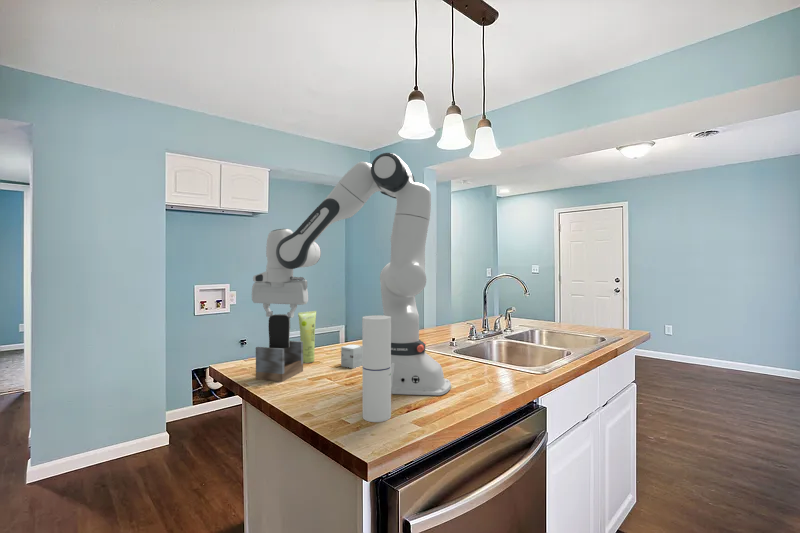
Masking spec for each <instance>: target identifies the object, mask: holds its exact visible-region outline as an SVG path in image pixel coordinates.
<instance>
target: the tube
mask: <svg viewBox="0 0 800 533" xmlns="http://www.w3.org/2000/svg"><path fill="white" fill-rule="evenodd" d="M297 317H298V325H299V335H300V337H299V338H300V340H299V341H302V342H303V364H309V363H311V364H312V363H313V362H315V342H316V340H315V338H316V322H317V321H316V319H317V318H316V317H317V310H313V311H312V310H310V311H301V312H298V313H297Z"/></svg>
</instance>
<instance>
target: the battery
mask: <svg viewBox="0 0 800 533" xmlns="http://www.w3.org/2000/svg"><path fill="white" fill-rule="evenodd" d="M287 316H288V315H287V313H279V314H278V313H277V314H276V313H275V314H273V315H271V316H270V317H269V318H268V325H267V326H268V342H269V343H268V348H289V347H290V343H289V341H290V336H291V334H290V333H291V318H288V317H287Z"/></svg>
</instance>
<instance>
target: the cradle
mask: <svg viewBox="0 0 800 533" xmlns="http://www.w3.org/2000/svg"><path fill="white" fill-rule="evenodd" d="M289 343H290V347H289V348H269V347H265V346H256V347H255V380H259V381H268V382H269V381H271V382H281V383H283V382H284V381H287V380H289V379H290V378H292V377H294V376H297V375H298V374H300V373H302V372H304V363H303V342H302V341H301V340H289Z"/></svg>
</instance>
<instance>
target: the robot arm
mask: <svg viewBox="0 0 800 533" xmlns="http://www.w3.org/2000/svg"><path fill="white" fill-rule="evenodd" d="M376 192H380V193H381V194H383V195H385V196H387V197H390V198H392V199H396V208H395V212H394V218H393V222H392V229H391V236H390V262H388V263H387V264H386V265H385V266H383V268H382V269H381V271H380V275H379V281H380V292H381V302H382V309H383V310H382V311H383V315H384V316H390V317H391V395H414V396H442V395H445V394H447V393H448V392H449V391H450V390H451V388H452V382H451V381H450V379H448V378H445V377H444V375H445V374H444V370H443V367H442V365H441V364H440V362H438V361H437V360H435V359H434V358H433V357H432V356H430V355H429V354H428V353H427V352H426V346H427V345H426V344H427V343H426V341H424V342H423V341H422V340H421V339H420V315H419V311H418V307H417V303H416V301H417V300H416V296H417V295H419V294H420V293H422V292H423V290H424V289H425V287H426V285H427V275H426V244H427V237H428V230H429V224H430V221H431V220H430V219H431V218H430V217H431V212H432V193H431V190H430V188H429V187H428V186H426V185H425V184H423V183H420V182H416V179H415V176H414V175H413V173H412V172H411V170H410V168H409V166H408V164H406V162H404V161H403V159H402V158H401V157H400V156H398V155H397V154H396V153H392V152H385V153H384V152H383V153H381V154H379V155H377V156H376V157H375V158H374V159H373V161H372V162H371V163H369V162H367V161H359V162H357V163H355V164H354V165H353V166H352V167H351V168H350V169H349V170H348V171H347V172H346V173H345V174H344V175H343V176H342V177H341V179H340V180H339V181H338V182H337V183H336V184H335V186H334V187H333V189H332V190H331V191H330V192H329V193H328V194H327V196H326V197H325V199H324V200H322V202H321V203H320V204H319V205H318V206H317V207H316V208H315V209H314V210H313V211H312V213H310V215H309V216H308V217H306V219H305V220H304V221H303V222H302V223H301V224H300V226H299V227H298V228H297V229H296V230H295V231H293V230H291V229H290V228H278V229H274V230H271V231H269V233H268V235H267V238H266V246H265V247H266V251H265V252H266V258H267V263H266V268H265V270H266V271H263V272H261V273H259V274H256V275H253V277H252V281H253V282H254V283H253V284H252V287H251V301H252V302H253V303H254V304H262V307H263V309H264V312H265V316H266V317H267V318H268V317H270V316H271V315H274V314H273V313H274V312H273V311H272V310H271V308H270V307H271V305H272V304H273V305H275V304H276V305H289V307H290V310H289V312H287V313H286V314H287V315H288V316H287V317H288V318H290V319H291V318H294V317H295V311H296V310H297V308H298V306H300V305H302V306H303V305H306V304H308V302H309V293H308V281H307V280H306V278H304V277H303V276H300V277H299V276H294V270H295V269H298V268H309V267H313V266H314V265H316V264H317V263H318V262H320V259H321V255H322V252H321V248H320V245H319V244H318V243H317V241H316V240H317V239H318V238H319V237H320V236H321V234H322V233H323V232H324V231H325V230H326V229H327V228H328V227H330V226H331V225H332V224H334V223H336V222H339V221H341V220H346V219H350V218H352V217H354V216H355V215H356V214H357V213H358V212H359V211H360V210H361V209H362V208H363V207H364V205H365V204H366V203H367V202H368V200H369V199H370V198H371V197H372V196H373V194H375V193H376ZM315 241H316V242H315Z"/></svg>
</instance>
